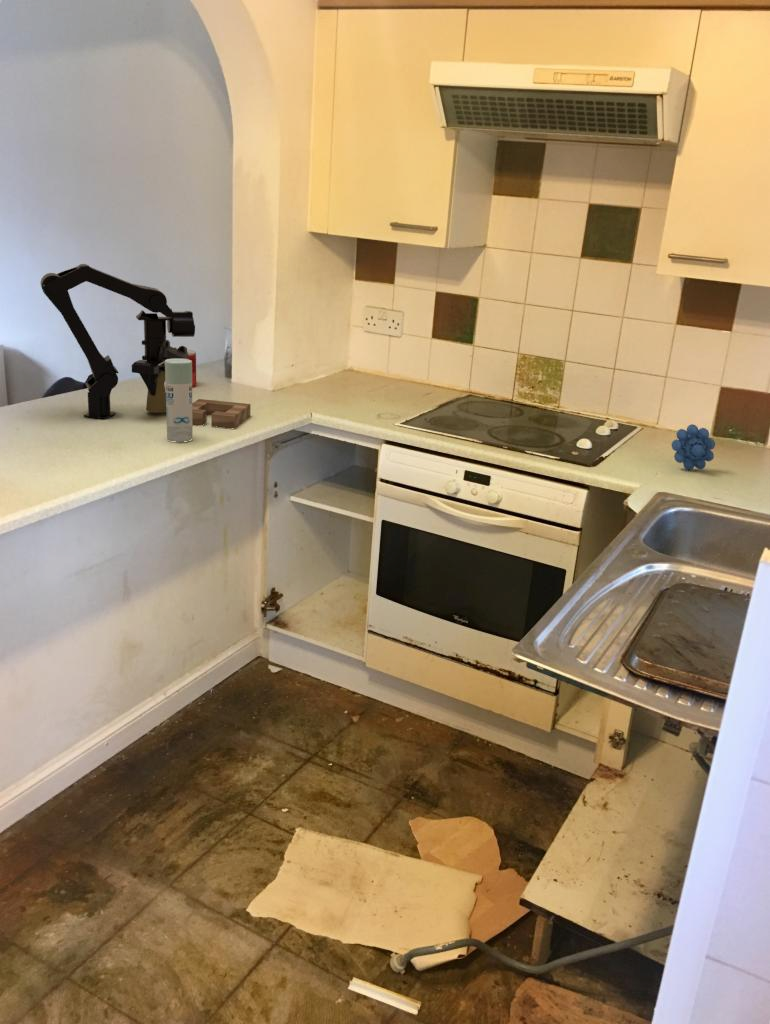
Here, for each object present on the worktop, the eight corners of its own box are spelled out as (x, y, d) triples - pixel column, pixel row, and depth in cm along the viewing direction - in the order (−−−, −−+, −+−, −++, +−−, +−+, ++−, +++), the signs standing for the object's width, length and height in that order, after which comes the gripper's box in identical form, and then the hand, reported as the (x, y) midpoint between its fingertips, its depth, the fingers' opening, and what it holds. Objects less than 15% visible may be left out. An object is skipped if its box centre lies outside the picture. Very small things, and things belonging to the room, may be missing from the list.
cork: (144, 412, 238) (143, 372, 234) (146, 406, 244) (145, 367, 240) (167, 412, 239) (166, 373, 235) (169, 407, 245) (168, 368, 241)
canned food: (201, 386, 276) (200, 352, 273) (179, 389, 271) (179, 354, 267) (187, 382, 281) (186, 348, 277) (165, 384, 276) (165, 350, 272)
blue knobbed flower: (673, 474, 219) (682, 428, 215) (663, 466, 226) (671, 421, 222) (717, 475, 221) (727, 430, 216) (706, 467, 227) (715, 423, 223)
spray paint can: (195, 442, 218) (194, 363, 211) (169, 443, 216) (167, 363, 209) (189, 435, 224) (188, 358, 217) (164, 436, 221) (162, 358, 214)
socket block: (234, 429, 232) (234, 416, 231) (180, 423, 234) (179, 410, 233) (250, 416, 246) (250, 404, 245) (199, 410, 248) (199, 398, 247)
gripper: (170, 344, 225) (171, 403, 230) (196, 334, 242) (196, 389, 248) (129, 340, 226) (131, 399, 232) (157, 330, 244) (159, 385, 249)
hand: (156, 393), depth 240 cm, fingers closed on cork, 4 cm apart
